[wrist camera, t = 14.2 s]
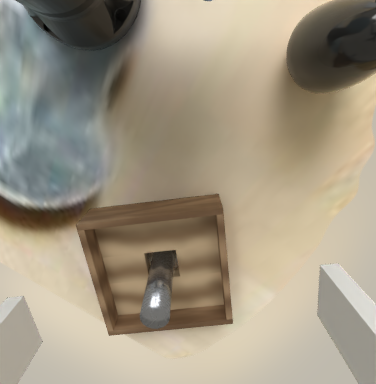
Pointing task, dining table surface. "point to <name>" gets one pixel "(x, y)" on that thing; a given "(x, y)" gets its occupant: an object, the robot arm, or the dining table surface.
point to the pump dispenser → (334, 46)
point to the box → (155, 242)
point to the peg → (158, 291)
